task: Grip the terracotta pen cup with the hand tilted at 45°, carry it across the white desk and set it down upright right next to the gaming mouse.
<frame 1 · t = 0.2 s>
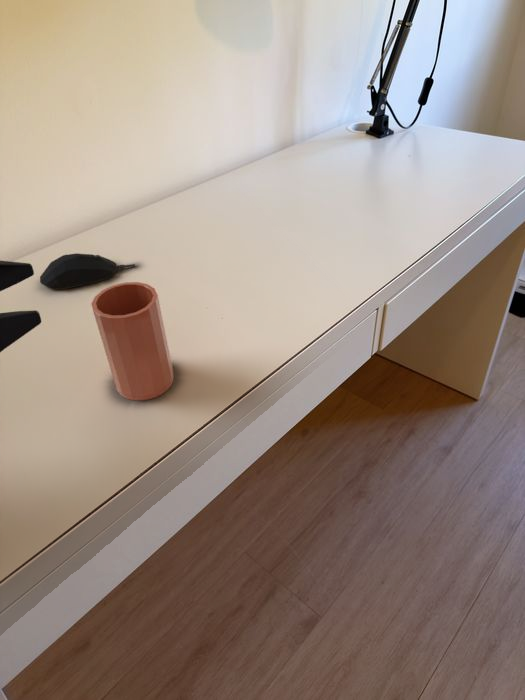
hand: (36, 291, 47), 18 cm above the table, tool horizontal, fingers open, 9 cm apart
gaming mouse: (89, 276, 85), on the table
pen cup: (145, 380, 65), on the table
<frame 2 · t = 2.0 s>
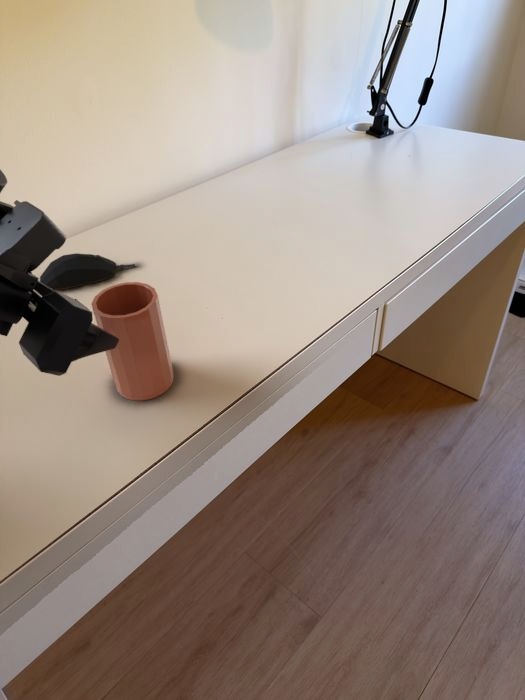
hand: (93, 324, 56), 11 cm above the table, tool tilted 45°, fingers open, 9 cm apart
nothing on the table moved.
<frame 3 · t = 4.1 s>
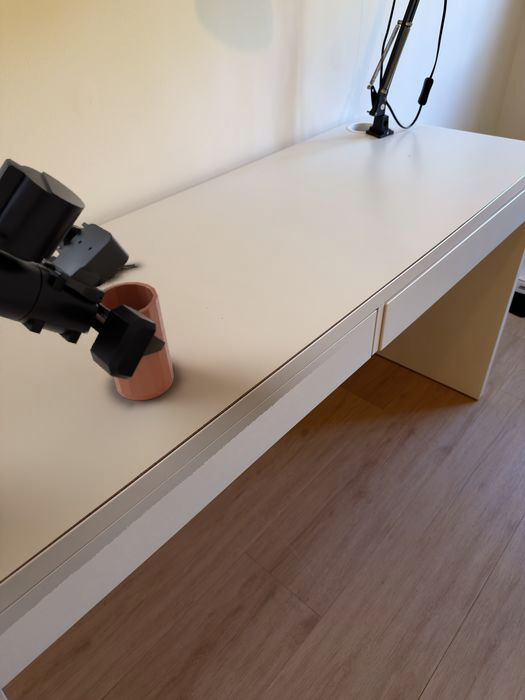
hand: (144, 332, 61), 7 cm above the table, tool tilted 45°, fingers closed on pen cup, 7 cm apart
pen cup: (145, 380, 65), on the table, touching gripper
everything else where it was.
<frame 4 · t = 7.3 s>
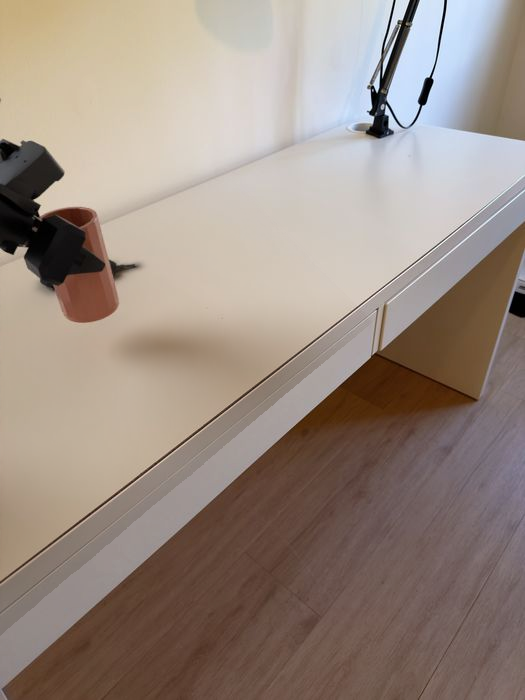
hand: (88, 257, 64), 13 cm above the table, tool tilted 45°, fingers closed on pen cup, 7 cm apart
pen cup: (91, 306, 67), point 6 cm above the table, touching gripper
everything else where it was.
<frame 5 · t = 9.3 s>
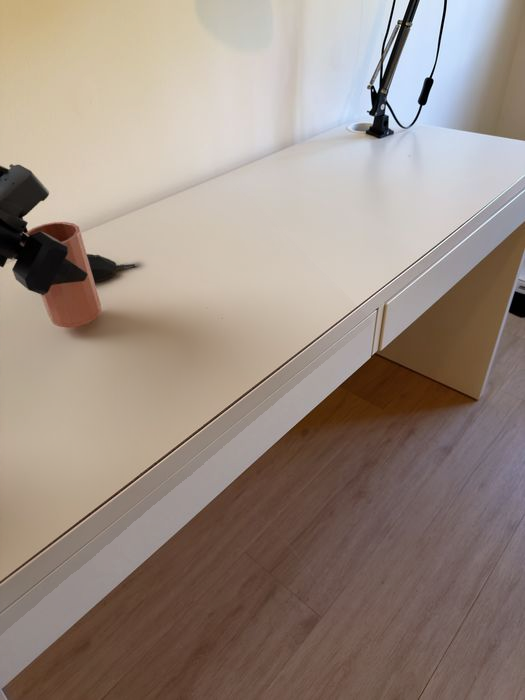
hand: (72, 267, 70), 9 cm above the table, tool tilted 45°, fingers closed on pen cup, 7 cm apart
pen cup: (76, 312, 74), point 2 cm above the table, touching gripper
everything else where it was.
when the fingers open (7 cm above the table, at t = 10.5 s): pen cup stays where it is, on the table.
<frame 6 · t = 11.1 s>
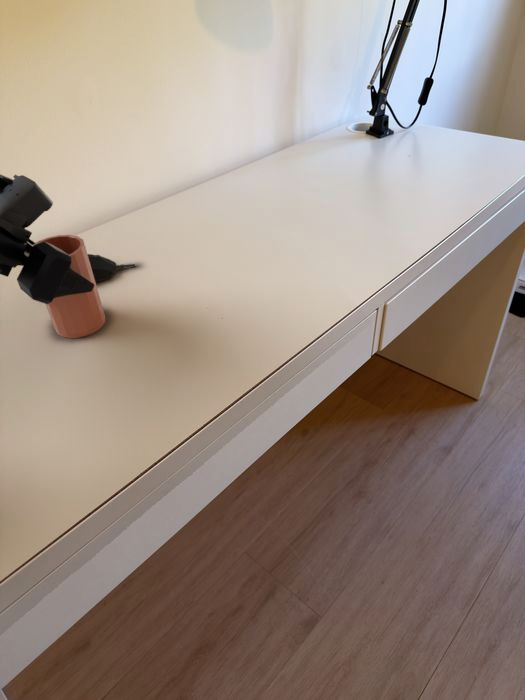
hand: (75, 275, 71), 7 cm above the table, tool tilted 45°, fingers open, 9 cm apart
pen cup: (80, 323, 75), on the table
everything else where it was.
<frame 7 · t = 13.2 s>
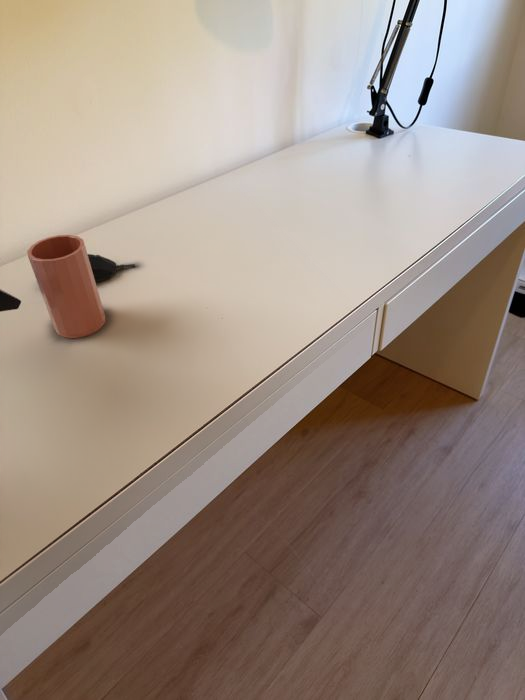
hand: (3, 290, 65), 9 cm above the table, tool tilted 45°, fingers open, 9 cm apart
nothing on the table moved.
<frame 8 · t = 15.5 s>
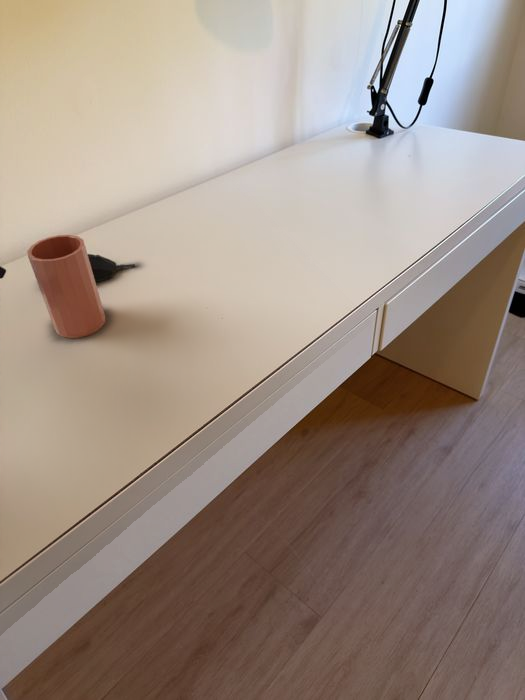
nothing on the table moved.
at the end: pen cup inside the target area (0.1 cm from its centre), on the table; pen cup tilted 0°; pen cup 13.4 cm from the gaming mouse (horizontally) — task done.
